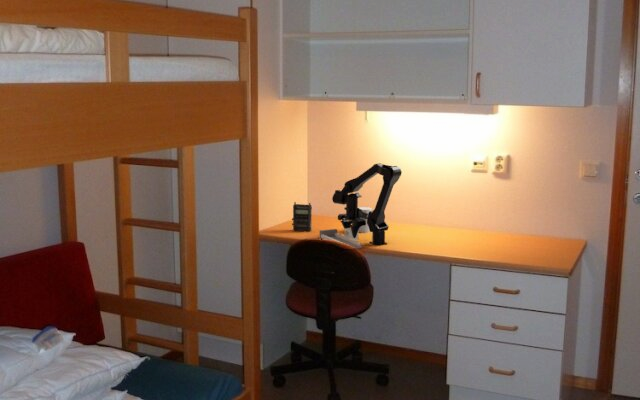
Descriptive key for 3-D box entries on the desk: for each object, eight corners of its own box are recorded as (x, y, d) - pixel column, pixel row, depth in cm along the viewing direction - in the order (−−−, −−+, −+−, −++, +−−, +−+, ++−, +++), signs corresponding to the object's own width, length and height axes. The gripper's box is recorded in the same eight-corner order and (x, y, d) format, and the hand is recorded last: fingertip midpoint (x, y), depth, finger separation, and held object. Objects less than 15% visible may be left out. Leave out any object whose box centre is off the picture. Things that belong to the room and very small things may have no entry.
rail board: (362, 247, 338) (362, 239, 338) (343, 249, 334) (343, 241, 333) (335, 236, 361) (336, 228, 360) (318, 238, 357) (318, 230, 356)
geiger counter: (290, 231, 373) (290, 202, 371) (293, 229, 378) (293, 201, 375) (310, 232, 371) (310, 203, 369) (312, 230, 375) (312, 202, 373)
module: (358, 239, 356) (358, 229, 355) (349, 240, 354) (349, 230, 353) (353, 237, 361) (353, 227, 360) (344, 238, 358) (344, 228, 358)
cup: (371, 229, 379) (371, 207, 377) (370, 232, 371) (371, 210, 369) (355, 229, 380) (356, 206, 378) (355, 232, 372) (355, 209, 370)
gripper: (375, 207, 350) (375, 238, 353) (356, 201, 366) (356, 231, 369) (356, 209, 345) (355, 241, 348) (337, 203, 361) (337, 233, 364)
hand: (351, 236), depth 357 cm, fingers open, 6 cm apart
